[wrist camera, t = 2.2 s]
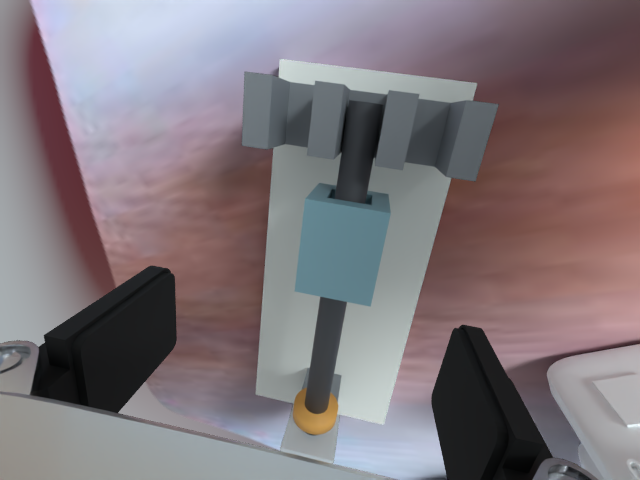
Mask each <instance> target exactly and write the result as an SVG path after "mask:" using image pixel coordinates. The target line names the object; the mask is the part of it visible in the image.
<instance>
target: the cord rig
mask: <svg viewBox="0 0 640 480" xmlns="http://www.w3.org/2000/svg"><path fill="white" fill-rule="evenodd" d="M476 87H477V83H472V82H464V81H456V80H448V79H440V78H432V77H423V76H415V75H407V74H399V73H391V72H383V71H374V70H366V69H358V68H350V67H342V66H334V65H325V64H317V63H309V62H301V61H293V60H285V59H280V64H279V77H276V76H273V75H267V74H259V73H252V72H245V74H244V101H243V127H242V146H248V147H254V148H261V149H267V150H268V149H271V148H273V161H272V174H271V188H270V202H269V216H268V229H267V243H266V257H265V271H264V284H263V298H262V312H261V326H260V339H259V353H258V367H257V381H256V394H255V395H259V396H264V397H268V398H272V399H276V400H280V401H285V402H289V403H293V407H292V410H291V413H290V417H289V420H288V424H287V427H286V430H285V434H284V437H283V440H282V444H281V447H280V451H282V452H286V453H290V454H294V455H299V456H303V457H307V458H311V459H315V460H319V461H323V462H328V463H332V464H333V463H334V457H335V449H336V441H337V434H338V426H339V419H340V415H343V416H348V417H352V418H356V419H360V420H364V421H369V422H373V423H377V424H381V425H384V421H385V418H386V414H387V411H388V407H389V403H390V400H391V396H392V392H393V389H394V385H395V381H396V378H397V374H398V371H399V367H400V363H401V360H402V356H403V352H404V349H405V345H406V341H407V338H408V334H409V331H410V327H411V323H412V320H413V316H414V312H415V309H416V305H417V301H418V298H419V294H420V291H421V287H422V283H423V280H424V276H425V272H426V269H427V265H428V261H429V258H430V254H431V251H432V247H433V243H434V240H435V236H436V232H437V229H438V225H439V222H440V218H441V214H442V211H443V207H444V203H445V200H446V196H447V192H448V189H449V185H450V182H451V178H456V179H462V180H469V181H476V178H477V175H478V171H479V168H480V165H481V161H482V158H483V155H484V151H485V148H486V145H487V142H488V138H489V135H490V132H491V128H492V125H493V122H494V118H495V115H496V112H497V109H498V105H499V104H493V103H486V102H478V101H473V98H474V94H475V91H476ZM319 183H323V184H329V185H336V193H335V199H338V200H344V201H350V202H356V203H362V204H365V202H366V197H367V191H373V192H379V193H385V194H389V203H390V211H391V215H390V219H389V224H388V228H387V233H386V238H385V242H384V247H383V252H382V256H381V261H380V266H379V270H378V275H377V280H376V284H375V289H374V293H373V298H372V303H371V307H370V306H365V305H360V304H355V303H350V302H345V301H340V300H335V299H330V298H325V297H320V296H315V295H310V294H305V293H300V292H295V283H296V274H297V265H298V256H299V247H300V238H301V230H302V221H303V212H304V203H305V198H306V197H307V196H308V195H309V194H310V193H311V192H312V190H313V189H314V188H315V187H316V186H317V185H318V184H319Z"/></svg>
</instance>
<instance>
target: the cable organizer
mask: <svg viewBox="0 0 640 480" xmlns="http://www.w3.org/2000/svg"><path fill="white" fill-rule="evenodd" d="M547 378H548V382H549V387H550V391H551V394H552V396H553V397H554V399H555V401H556V402H557V404H558V405H559V407H560V409H561V410H562V412H563V413H564V415H565V417H566V418H567V420H568V422H569V423H570V425H571V426H572V428H573V430H574V431H575V433H576V435H577V436H578V438H579V439H580V441H581V444H580V445H579V447H578V456H579V461H580V465H581V467H582V468H583V469H585V470H587V471H588V472H589V473H591V474H592V475H593V476H595V477H596V478H597V479H598V480H640V344H637V345H631V346H626V347H620V348H613V349H608V350H602V351H597V352H591V353H585V354H581V355H575V356H570V357H566V358H563V359H561V360H558V361H557V362H555V363H553V364H552V365H551V366H550V367H549V369H548V371H547Z"/></svg>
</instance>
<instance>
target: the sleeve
mask: <svg viewBox="0 0 640 480" xmlns="http://www.w3.org/2000/svg"><path fill="white" fill-rule="evenodd" d="M335 193H336V185H329V184H323V183H319V184H318V185H317V186H316V187H315V188H314V189H313V190H312V192H311V193H310V194H309V195H308V196H307V197H306V198H305V203H304V212H303V221H302V230H301V238H300V247H299V256H298V265H297V274H296V283H295V292H300V293H305V294H310V295H315V296H320V297H325V298H330V299H335V300H340V301H345V302H350V303H355V304H360V305H365V306H370V307H371V303H372V298H373V293H374V289H375V284H376V280H377V275H378V270H379V266H380V261H381V256H382V252H383V247H384V242H385V238H386V233H387V228H388V224H389V219H390V215H391V211H390V203H389V194H385V193H379V192H373V191H367V197H366V202H365V204H362V203H356V202H350V201H344V200H338V199H335Z"/></svg>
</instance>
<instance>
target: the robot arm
mask: <svg viewBox="0 0 640 480" xmlns="http://www.w3.org/2000/svg"><path fill="white" fill-rule="evenodd" d="M44 339H45V343H44V344H42V345H41V346H40V347H38V346H37V345H36V344H34V343H33V342H29V341H20V340H19V341H18V340H17V341H8V342H4V343H0V480H398V479H393V478H389V477H385V476H381V475H377V474H373V473H369V472H365V471H360V470H356V469H352V468H348V467H344V466H340V465H336V464H332V463H328V462H323V461H319V460H315V459H311V458H307V457H303V456H299V455H294V454H290V453H286V452H282V451H278V450H273V449H269V448H265V447H261V446H256V445H252V444H248V443H244V442H240V441H235V440H231V439H227V438H223V437H218V436H214V435H210V434H205V433H201V432H197V431H193V430H188V429H184V428H180V427H175V426H171V425H167V424H162V423H158V422H153V421H149V420H145V419H141V418H136V417H131V416H127V415H123V414H119V413H118V412H119V411H120V410H121V408H122V407H123V406H124V405H125V404H126V403H127V402H128V400H129V399H130V398H131V397H132V396H133V395H134V394H135V392H136V391H137V390H138V389H139V388H140V386H141V385H142V384H143V383H144V382H145V381H146V380H147V379H148V377H149V376H150V375H151V374H152V373H153V372H154V371H155V369H156V368H157V367H158V366H159V365H160V364H161V362H162V361H163V360H164V359H165V358H166V357H167V356H168V354H169V353H170V352H171V351H172V350H173V348H174V346H175V344H176V304H175V277H174V275H173V274H171V272H170V270H169V269H167V268H162V267H157V266H149V267H148V268H146V269H144V270H143V271H141V272H140V273H138V274H137V275H135V276H134V277H132V278H131V279H129V280H128V281H126V282H125V283H123V284H122V285H120V286H118V287H117V288H115V289H114V290H112V291H111V292H109V293H108V294H106V295H105V296H103V297H102V298H100V299H99V300H97V301H96V302H94V303H92V304H91V305H89V306H88V307H87V308H85V309H83V310H82V311H80V312H79V313H77V314H76V315H74V316H73V317H71V318H70V319H68V320H66V321H65V322H64V323H62V324H60V325H59V326H57V327H56V328H54V329H53V330H51V331H50V332H48V333H47V334H45V335H44ZM432 408H433V413H434V418H435V422H436V427H437V432H438V437H439V441H440V446H441V451H442V455H443V460H444V465H445V470H446V474H447V479H448V480H598V479H597V478H596V477H595V476H593V475H592V474H591V473H589V472H588V471H587V470H585V469H583V468H582V467H580V466H578V465H576V464H575V463H572V462H569V461H567V460H564V459H559V458H553V457H552V455H551V453H550V451H549V449H548V447H547V445H546V444H545V442H544V440H543V438H542V436H541V434H540V432H539V431H538V429H537V427H536V425H535V423H534V421H533V419H532V418H531V416H530V414H529V412H528V410H527V408H526V406H525V405H524V403H523V401H522V399H521V397H520V395H519V393H518V392H517V390H516V388H515V386H514V384H513V382H512V381H511V380H510V379H509V378H508V376H507V375H506V373H505V371H504V369H503V367H502V365H501V363H500V361H499V360H498V358H497V356H496V354H495V352H494V350H493V348H492V346H491V345H490V343H489V341H488V339H487V337H486V335H485V333H484V331H483V330H482V329H481V328H477V327H472V326H467V325H461V326H460V327H459V329H458V328H454V329H453V331H452V334H451V337H450V340H449V344H448V347H447V350H446V353H445V356H444V359H443V362H442V365H441V368H440V371H439V374H438V377H437V380H436V384H435V387H434V390H433V393H432Z"/></svg>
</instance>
